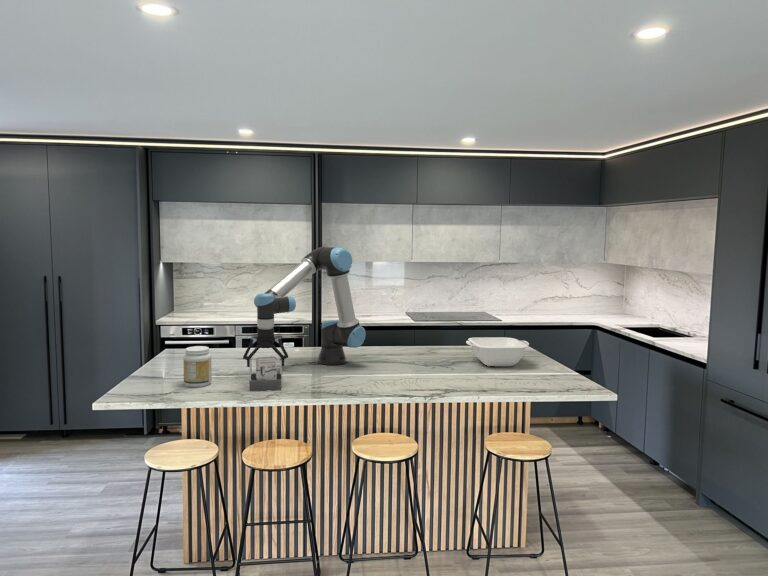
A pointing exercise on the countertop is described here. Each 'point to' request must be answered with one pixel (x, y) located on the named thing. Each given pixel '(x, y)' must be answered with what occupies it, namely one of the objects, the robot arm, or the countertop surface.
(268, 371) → the ink box
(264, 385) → the cradle
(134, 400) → the countertop surface
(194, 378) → the supplement tub
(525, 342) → the baking dish
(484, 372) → the countertop surface
